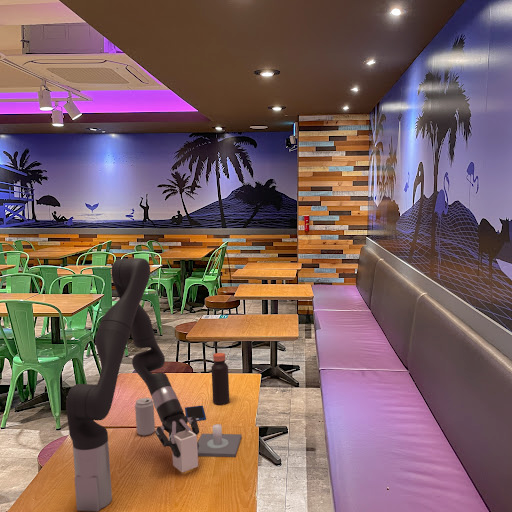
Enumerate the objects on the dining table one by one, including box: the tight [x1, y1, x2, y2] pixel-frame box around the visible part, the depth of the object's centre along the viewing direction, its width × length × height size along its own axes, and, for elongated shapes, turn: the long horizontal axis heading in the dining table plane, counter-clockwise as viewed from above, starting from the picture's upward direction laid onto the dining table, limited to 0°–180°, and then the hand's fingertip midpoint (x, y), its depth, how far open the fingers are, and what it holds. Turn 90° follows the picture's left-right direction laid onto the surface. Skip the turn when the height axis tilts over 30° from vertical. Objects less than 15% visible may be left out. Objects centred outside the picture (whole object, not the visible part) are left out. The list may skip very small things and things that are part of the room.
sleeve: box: [171, 429, 199, 473], centre depth 158 cm, size 6×6×10 cm
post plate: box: [197, 423, 243, 458], centre depth 173 cm, size 14×14×7 cm
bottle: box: [210, 352, 230, 406], centre depth 210 cm, size 7×7×20 cm
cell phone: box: [184, 405, 207, 422], centre depth 200 cm, size 7×14×1 cm, turn 11°
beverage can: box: [134, 397, 156, 437], centre depth 185 cm, size 6×6×12 cm
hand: (187, 453), depth 157 cm, fingers closed on sleeve, 5 cm apart
